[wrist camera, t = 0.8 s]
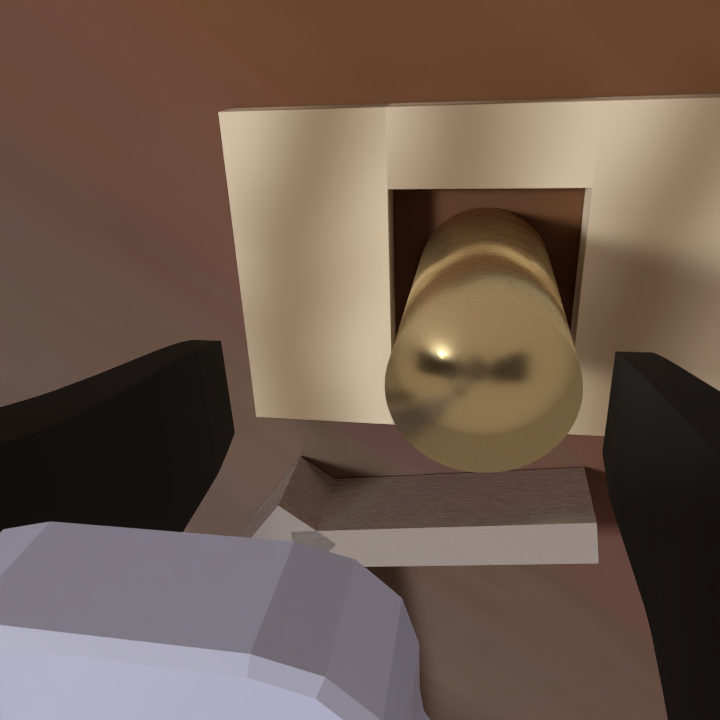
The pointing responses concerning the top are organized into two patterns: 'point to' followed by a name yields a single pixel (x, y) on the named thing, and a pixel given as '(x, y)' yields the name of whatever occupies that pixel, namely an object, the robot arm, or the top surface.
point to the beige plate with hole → (468, 171)
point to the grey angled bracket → (435, 517)
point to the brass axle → (484, 348)
